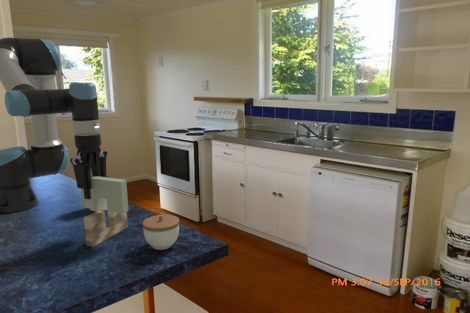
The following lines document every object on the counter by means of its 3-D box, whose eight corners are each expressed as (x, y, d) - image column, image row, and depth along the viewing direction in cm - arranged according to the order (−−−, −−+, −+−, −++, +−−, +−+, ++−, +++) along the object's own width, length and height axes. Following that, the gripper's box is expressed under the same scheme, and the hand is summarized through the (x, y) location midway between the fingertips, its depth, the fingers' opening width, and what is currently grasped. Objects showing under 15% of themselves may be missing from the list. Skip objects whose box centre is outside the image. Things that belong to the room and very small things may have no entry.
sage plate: (83, 206, 117) (79, 176, 115) (88, 204, 119) (85, 174, 117) (123, 213, 111) (120, 181, 109) (128, 210, 113) (126, 179, 111)
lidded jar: (163, 256, 102) (161, 225, 100) (136, 248, 108) (134, 218, 106) (187, 242, 111) (186, 213, 109) (161, 234, 117) (159, 207, 115)
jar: (92, 213, 136) (89, 182, 134) (87, 207, 143) (84, 178, 141) (116, 208, 141) (113, 178, 139) (110, 203, 148) (108, 174, 145)
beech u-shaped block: (93, 246, 109) (90, 218, 107) (86, 245, 110) (83, 217, 108) (127, 226, 123) (125, 201, 121) (121, 225, 124) (119, 200, 122)
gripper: (76, 138, 103) (85, 216, 108) (114, 130, 117) (120, 200, 122) (57, 136, 106) (66, 213, 111) (96, 129, 120) (102, 197, 125)
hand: (94, 206), depth 116 cm, fingers closed on sage plate, 2 cm apart
